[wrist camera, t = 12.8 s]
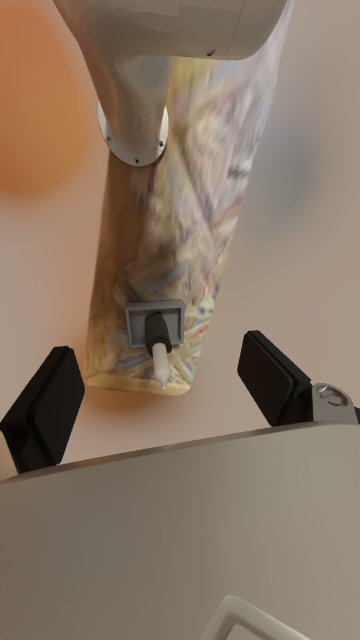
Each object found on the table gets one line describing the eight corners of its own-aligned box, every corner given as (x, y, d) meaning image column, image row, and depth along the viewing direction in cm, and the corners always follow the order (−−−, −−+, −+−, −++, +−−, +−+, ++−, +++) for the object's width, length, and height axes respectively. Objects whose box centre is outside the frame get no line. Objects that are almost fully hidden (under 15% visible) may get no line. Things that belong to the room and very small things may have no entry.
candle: (167, 325, 54) (184, 393, 32) (151, 331, 54) (156, 404, 32) (160, 310, 52) (173, 372, 30) (143, 317, 52) (143, 385, 30)
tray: (125, 302, 50) (124, 307, 46) (181, 299, 52) (184, 304, 49) (130, 340, 55) (129, 348, 52) (181, 336, 58) (183, 343, 54)
